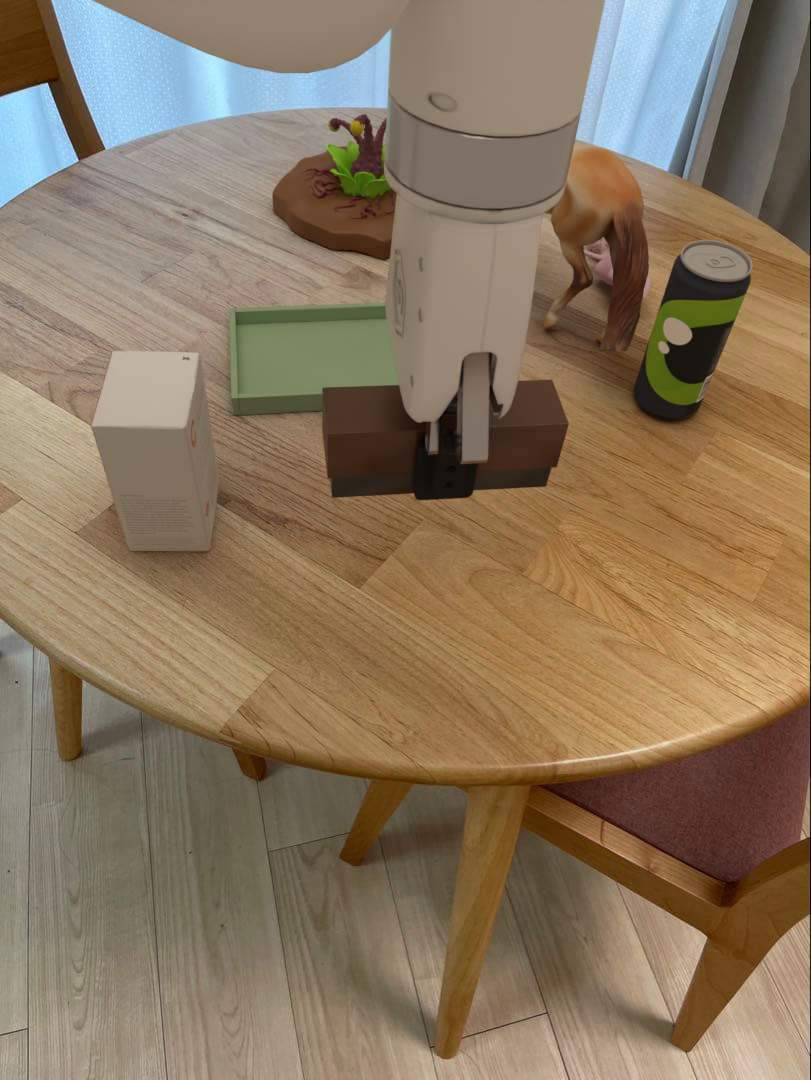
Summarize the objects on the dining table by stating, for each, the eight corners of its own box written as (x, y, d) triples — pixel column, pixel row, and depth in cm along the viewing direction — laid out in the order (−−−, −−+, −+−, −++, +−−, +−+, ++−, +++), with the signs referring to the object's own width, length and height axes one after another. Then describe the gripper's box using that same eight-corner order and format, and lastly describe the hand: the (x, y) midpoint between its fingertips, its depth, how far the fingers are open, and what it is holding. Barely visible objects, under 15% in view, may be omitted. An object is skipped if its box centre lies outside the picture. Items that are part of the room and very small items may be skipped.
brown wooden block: (327, 499, 47) (327, 434, 44) (322, 453, 50) (322, 387, 46) (551, 488, 49) (569, 423, 45) (536, 443, 51) (552, 379, 48)
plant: (243, 219, 98) (234, 117, 90) (335, 151, 110) (335, 56, 101) (398, 275, 93) (404, 172, 84) (478, 197, 104) (491, 100, 96)
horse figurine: (422, 239, 98) (437, 40, 82) (479, 223, 101) (504, 27, 85) (602, 402, 81) (664, 191, 66) (664, 377, 84) (737, 169, 68)
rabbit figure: (567, 254, 100) (603, 314, 88) (576, 201, 96) (614, 256, 85) (620, 254, 100) (663, 313, 89) (631, 201, 97) (677, 256, 85)
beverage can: (678, 376, 84) (730, 234, 73) (710, 418, 81) (771, 275, 69) (619, 385, 83) (664, 242, 71) (650, 429, 79) (701, 285, 68)
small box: (142, 477, 72) (110, 347, 62) (221, 478, 72) (201, 349, 62) (126, 553, 67) (88, 425, 57) (210, 554, 67) (187, 427, 57)
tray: (233, 415, 77) (231, 398, 76) (230, 325, 86) (228, 308, 84) (425, 405, 80) (427, 388, 78) (404, 318, 88) (405, 301, 86)
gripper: (364, 55, 40) (354, 374, 54) (416, 257, 29) (387, 589, 43) (524, 58, 41) (474, 370, 55) (630, 254, 30) (535, 579, 44)
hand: (436, 464), depth 49 cm, fingers closed on brown wooden block, 3 cm apart
